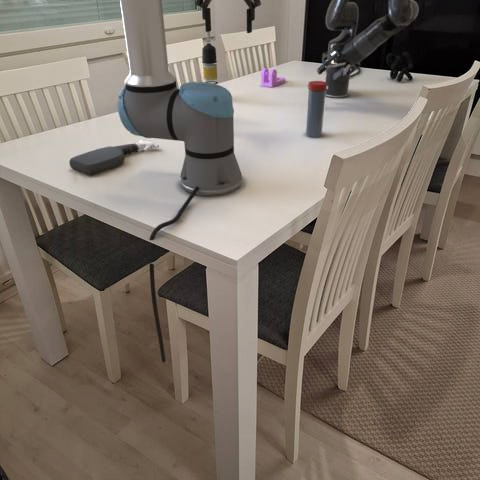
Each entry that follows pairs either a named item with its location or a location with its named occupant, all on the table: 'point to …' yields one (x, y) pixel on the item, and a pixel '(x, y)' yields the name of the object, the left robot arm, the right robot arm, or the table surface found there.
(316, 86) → the lid
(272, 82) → the bracket
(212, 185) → the left robot arm
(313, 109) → the jar
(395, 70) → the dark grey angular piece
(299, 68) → the table surface
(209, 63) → the bottle with thin stem
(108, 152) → the spray bottle
